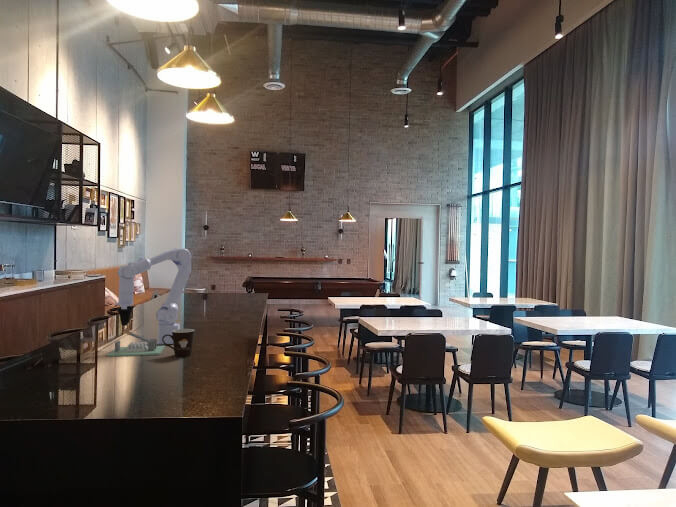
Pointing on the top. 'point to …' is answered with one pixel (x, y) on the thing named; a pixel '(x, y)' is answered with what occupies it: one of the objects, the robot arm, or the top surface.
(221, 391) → the top surface
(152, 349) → the heatsink board
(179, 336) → the coffee mug
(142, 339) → the brown and grey bar
